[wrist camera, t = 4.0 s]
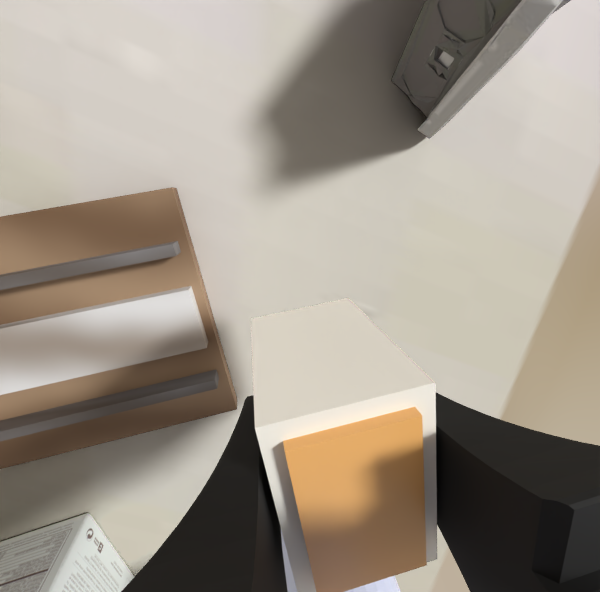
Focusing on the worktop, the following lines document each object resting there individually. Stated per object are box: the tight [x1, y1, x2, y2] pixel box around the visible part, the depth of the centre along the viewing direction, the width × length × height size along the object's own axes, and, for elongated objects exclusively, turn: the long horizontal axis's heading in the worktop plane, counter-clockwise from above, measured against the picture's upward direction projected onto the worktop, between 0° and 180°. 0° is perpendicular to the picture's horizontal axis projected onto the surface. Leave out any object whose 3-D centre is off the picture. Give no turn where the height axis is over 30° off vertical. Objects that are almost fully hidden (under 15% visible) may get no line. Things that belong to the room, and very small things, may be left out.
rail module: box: [251, 298, 437, 592], centre depth 10 cm, size 6×4×6 cm, turn 9°
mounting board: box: [0, 188, 237, 469], centre depth 17 cm, size 14×18×2 cm
